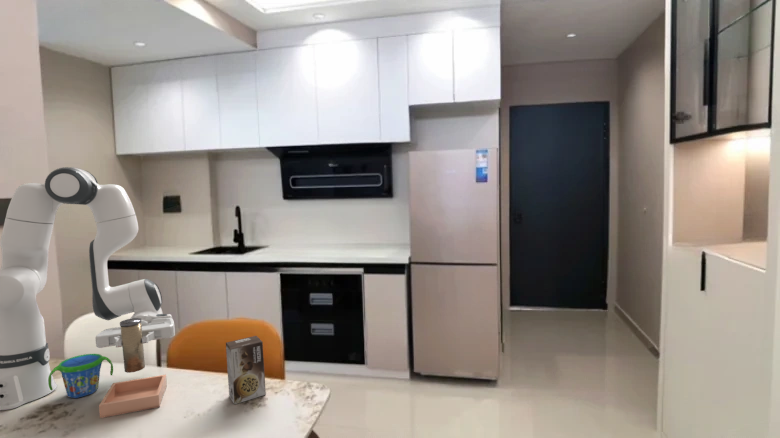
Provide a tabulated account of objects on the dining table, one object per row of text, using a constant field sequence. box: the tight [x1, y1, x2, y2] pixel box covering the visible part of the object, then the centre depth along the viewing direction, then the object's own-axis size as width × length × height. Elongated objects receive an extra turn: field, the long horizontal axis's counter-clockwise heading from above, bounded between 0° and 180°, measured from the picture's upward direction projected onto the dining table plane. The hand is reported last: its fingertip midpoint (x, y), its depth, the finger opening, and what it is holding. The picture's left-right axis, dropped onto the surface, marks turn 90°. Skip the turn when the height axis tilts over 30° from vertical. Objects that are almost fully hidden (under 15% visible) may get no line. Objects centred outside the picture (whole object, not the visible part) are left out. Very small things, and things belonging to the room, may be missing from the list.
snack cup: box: [48, 353, 114, 399], centre depth 124 cm, size 16×10×10 cm
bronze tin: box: [119, 318, 146, 374], centre depth 118 cm, size 5×5×14 cm
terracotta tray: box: [98, 374, 168, 419], centre depth 119 cm, size 14×14×4 cm
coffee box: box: [225, 335, 267, 405], centre depth 120 cm, size 9×6×16 cm
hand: (131, 342), depth 117 cm, fingers closed on bronze tin, 5 cm apart
